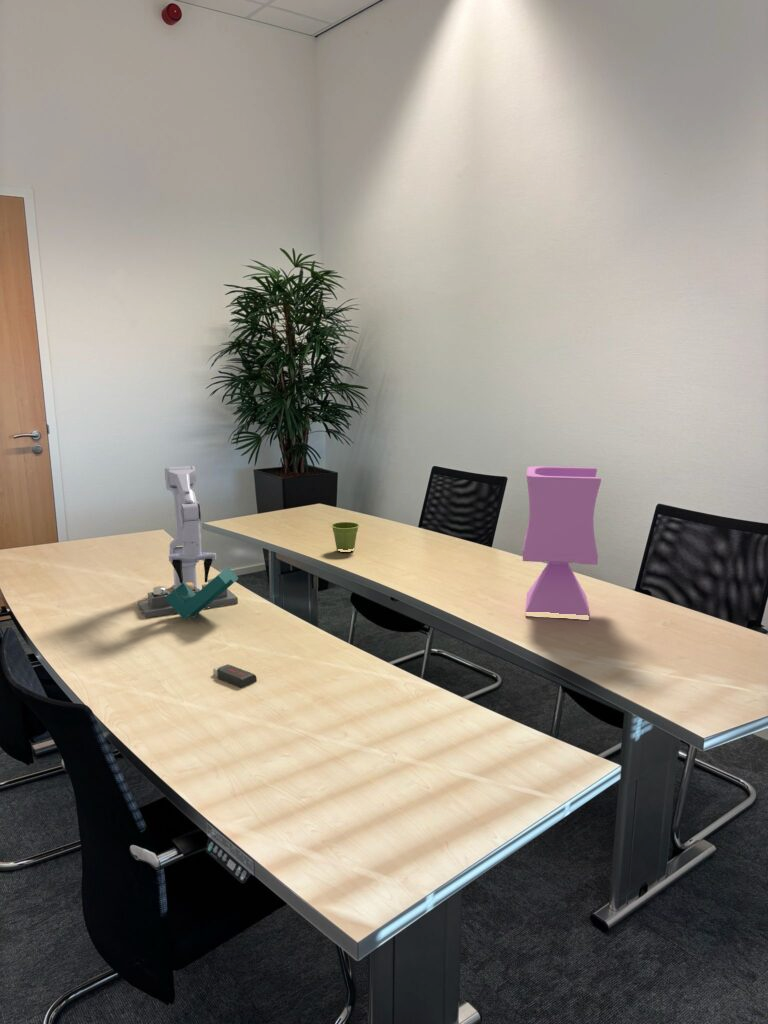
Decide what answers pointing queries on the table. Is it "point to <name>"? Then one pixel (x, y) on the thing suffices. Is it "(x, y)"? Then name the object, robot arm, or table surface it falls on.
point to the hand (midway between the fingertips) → (193, 581)
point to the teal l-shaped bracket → (199, 594)
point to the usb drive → (234, 675)
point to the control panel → (162, 607)
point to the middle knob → (190, 585)
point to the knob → (159, 591)
